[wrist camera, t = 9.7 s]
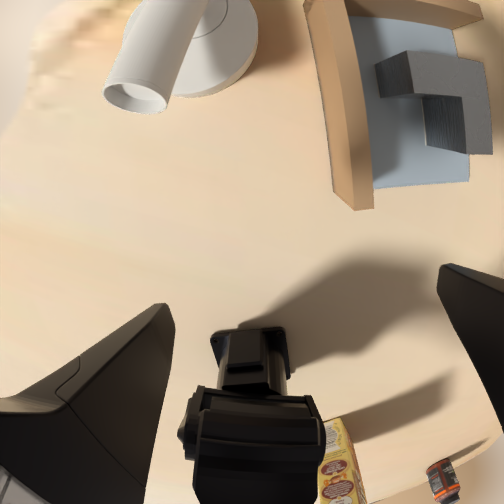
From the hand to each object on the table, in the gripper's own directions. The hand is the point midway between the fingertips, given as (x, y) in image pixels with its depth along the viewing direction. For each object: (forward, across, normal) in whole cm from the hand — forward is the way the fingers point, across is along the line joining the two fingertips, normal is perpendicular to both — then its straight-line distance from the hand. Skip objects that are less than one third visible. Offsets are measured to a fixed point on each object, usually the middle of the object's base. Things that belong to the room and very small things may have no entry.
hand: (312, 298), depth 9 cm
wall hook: (+13, +4, -12) cm, 18 cm away
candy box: (+13, -4, +31) cm, 34 cm away
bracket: (+12, -11, -6) cm, 17 cm away
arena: (+13, -10, -7) cm, 18 cm away
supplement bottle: (+13, -30, +59) cm, 67 cm away
